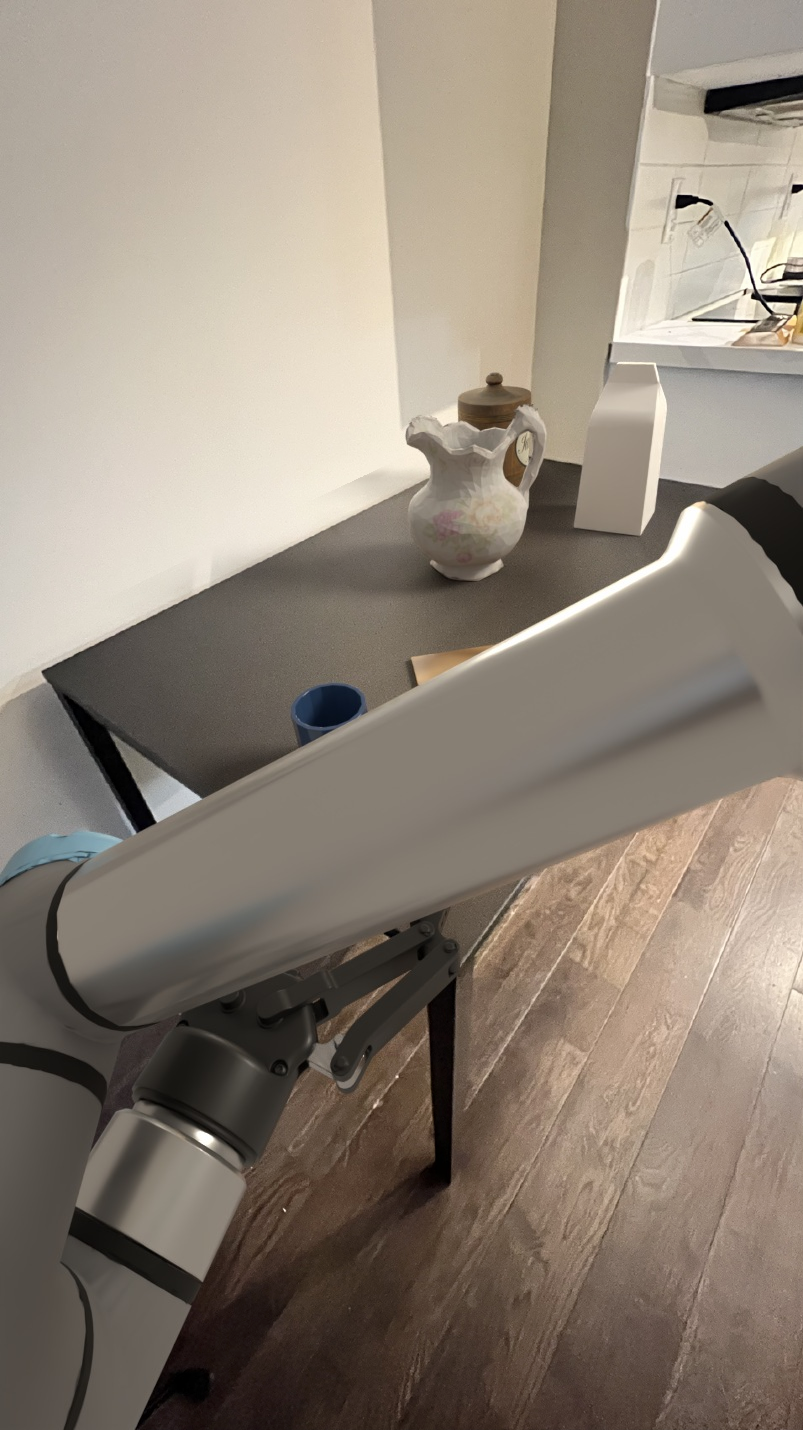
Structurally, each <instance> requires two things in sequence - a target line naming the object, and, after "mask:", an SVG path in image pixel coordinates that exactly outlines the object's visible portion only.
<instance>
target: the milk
mask: <svg viewBox="0 0 803 1430" xmlns="http://www.w3.org/2000/svg"><path fill="white" fill-rule="evenodd" d="M667 413H668V404H667V398H666V396H665V393H664V390H663V386H662V383H661V382H660V375H659V371H658V368H657V363H656V362H650V361H648V362H645V361H643V362H640V361H639V362H637V361H618V362H616V364H615V365H614V367H613V369H612V371H611V373H610V375H609V377H608V378H607V382H606V383H605V385H604V387H603V389H602V391H601V393H600V395H599V397H598V399H597V402H596V404H595V406H594V408H593V410H592V412H591V415H590V417H589V421H588V425H587V432H586V438H585V445H584V453H583V459H582V465H581V473H580V480H579V485H578V486H579V487H578V493H577V501H576V507H575V508H576V509H575V514H574V521H573V528H574V529H580V530H581V529H583V530H590V531H597V532H606V533H614V534H622V535H630V536H636V537H637V536H638V537H641V536H642V534H643V533H644V530H645V529H646V527H647V525H648V524H649V522H650V520H651V518H652V517H653V515H654V513H655V512H656V504H657V495H658V487H659V478H660V471H661V470H660V469H661V461H662V454H663V445H664V438H665V437H664V436H665V429H666V423H667V421H666V420H667Z"/></svg>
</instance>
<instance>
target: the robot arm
mask: <svg viewBox="0 0 803 1430" xmlns="http://www.w3.org/2000/svg"><path fill="white" fill-rule="evenodd" d="M496 644H497V645H495V644H494V645H495V646H493V647H491V648H489V649H487V650H485V651H483V652H481V653H480V654H478V655H476V656H474V657H472V658H470V659H468V660H466V661H464V662H462V663H460V664H459V665H457V666H455V667H453V668H451V669H449V670H447V671H445V672H443V673H441V674H440V675H438V676H436V677H434V678H432V679H430V680H428V681H426V682H424V683H422V684H421V685H419V686H418V685H417V686H414V687H413V688H410V689H409V690H407V691H405V692H403V693H402V694H400V695H398V696H395V697H394V698H392V699H390V700H388V701H386V702H384V703H382V704H381V705H379V706H376V707H375V708H372V709H371V710H369V711H368V712H367V713H365V714H363V715H362V716H360V717H358V718H356V719H354V720H352V721H350V722H348V723H346V724H344V725H342V726H341V727H339V728H337V729H335V730H333V731H331V732H329V733H327V734H325V735H323V736H322V737H320V738H318V739H316V740H314V741H312V742H310V743H308V744H306V745H304V746H302V747H301V748H299V747H298V748H297V749H295V750H293V751H291V752H288V753H287V754H285V755H283V756H282V757H280V758H278V759H276V760H273V761H272V762H270V763H268V764H266V765H265V766H262V767H260V768H259V769H256V770H255V771H253V772H251V773H249V774H247V775H246V776H243V777H242V778H240V779H237V780H236V781H234V782H232V783H230V784H228V785H225V786H224V787H223V788H221V789H219V790H217V791H215V792H213V793H211V794H209V795H207V796H206V797H203V798H201V799H200V800H198V801H196V802H193V803H192V804H190V805H188V806H187V807H184V808H183V809H181V810H179V811H177V812H175V813H173V814H171V815H169V816H167V817H166V818H163V819H162V820H160V821H158V822H156V823H154V824H151V825H150V826H148V827H146V828H145V829H142V830H140V831H139V832H136V833H135V834H133V835H131V836H129V837H127V838H125V839H122V838H120V837H117V836H113V835H111V834H107V833H103V832H96V831H92V830H91V831H90V830H75V831H73V832H72V833H70V834H69V835H61V834H58V833H54V832H52V833H49V834H45V835H42V836H39V837H37V838H34V839H32V840H30V841H29V842H27V843H25V844H24V845H23V846H21V847H20V848H19V849H18V850H17V851H15V852H14V854H13V855H12V856H11V857H10V858H9V860H8V861H7V863H6V864H5V866H4V868H3V869H2V870H1V872H0V1430H136V1428H137V1426H138V1423H139V1421H140V1419H141V1417H142V1415H143V1412H144V1410H145V1408H146V1407H147V1404H148V1401H149V1400H150V1397H151V1395H152V1393H153V1391H154V1388H155V1386H156V1384H157V1382H158V1380H159V1378H160V1376H161V1374H162V1372H163V1369H164V1367H165V1365H166V1362H167V1361H168V1358H169V1356H170V1354H171V1352H172V1350H173V1347H174V1344H175V1343H176V1341H177V1338H178V1336H179V1334H180V1332H181V1330H182V1328H183V1326H184V1323H185V1321H186V1319H187V1317H188V1315H189V1313H190V1310H191V1308H192V1303H193V1302H194V1301H195V1299H196V1297H197V1295H198V1293H199V1291H200V1289H201V1287H202V1284H201V1283H204V1280H205V1278H206V1276H207V1274H208V1271H209V1269H210V1267H211V1265H212V1263H213V1262H214V1259H215V1257H216V1255H217V1253H218V1250H219V1248H220V1246H221V1245H222V1242H223V1240H224V1237H225V1235H226V1233H227V1231H228V1228H229V1227H230V1224H231V1223H232V1220H233V1218H234V1216H235V1214H236V1211H237V1210H238V1207H239V1205H240V1204H241V1201H242V1199H243V1197H244V1194H245V1192H246V1190H247V1188H248V1186H247V1182H246V1181H247V1180H246V1177H245V1176H244V1175H243V1174H242V1170H243V1169H244V1168H252V1167H253V1166H254V1165H255V1164H257V1163H259V1162H261V1160H262V1157H263V1156H264V1153H265V1151H266V1149H267V1146H268V1144H269V1143H270V1140H271V1138H272V1136H273V1134H274V1131H275V1130H276V1127H277V1125H278V1123H279V1121H280V1119H281V1116H282V1115H283V1112H284V1110H285V1108H286V1107H287V1104H288V1101H289V1100H290V1097H291V1095H292V1092H293V1090H294V1087H295V1085H296V1083H297V1081H298V1080H299V1078H300V1077H301V1076H302V1075H303V1074H304V1073H305V1072H306V1071H308V1069H310V1068H312V1069H313V1070H315V1071H316V1072H318V1073H320V1074H321V1075H324V1076H325V1077H328V1078H329V1079H331V1080H332V1081H334V1082H335V1084H336V1087H337V1089H338V1091H339V1092H340V1093H341V1094H344V1095H351V1094H352V1093H353V1092H355V1091H356V1090H357V1088H358V1086H359V1085H360V1083H361V1080H362V1079H363V1077H364V1075H365V1073H366V1071H367V1069H368V1067H369V1065H370V1063H371V1062H372V1059H373V1058H374V1057H375V1056H376V1055H377V1054H379V1052H380V1051H381V1050H382V1049H383V1048H384V1047H385V1046H387V1044H388V1043H389V1042H391V1040H392V1039H393V1038H395V1037H396V1036H397V1035H398V1034H399V1033H400V1032H401V1031H402V1030H403V1029H404V1028H405V1027H406V1026H407V1025H408V1024H409V1023H410V1022H411V1021H412V1020H413V1019H414V1018H415V1017H416V1016H417V1015H418V1014H420V1012H422V1010H424V1008H425V1007H426V1006H428V1004H430V1003H431V1002H432V1001H433V1000H434V999H435V998H436V997H437V996H438V995H439V994H440V993H441V992H442V991H443V990H444V989H445V988H446V987H447V986H448V985H449V984H450V983H452V982H453V981H454V980H455V978H456V977H458V975H459V974H460V972H461V948H460V944H459V942H458V941H457V940H455V939H454V938H447V937H446V936H444V935H443V934H442V932H443V930H444V927H445V924H446V922H447V919H448V917H449V914H450V912H451V911H450V910H451V908H452V907H453V906H456V905H458V904H460V903H463V902H465V901H467V900H471V899H473V898H476V897H478V896H481V895H483V894H485V893H489V892H491V891H493V890H496V889H499V888H501V887H504V886H506V885H509V884H511V883H513V882H516V881H519V880H521V879H523V878H526V877H529V876H531V875H533V874H537V873H539V872H541V871H544V870H546V869H549V868H551V867H552V868H553V867H554V866H556V865H559V864H562V863H564V862H567V861H569V860H571V859H574V858H577V857H579V856H582V855H584V854H587V853H589V852H592V851H594V850H597V849H600V848H602V847H604V846H607V845H610V844H612V843H615V842H617V841H619V840H622V839H625V838H627V837H631V836H632V835H635V834H638V833H640V832H642V831H645V830H648V829H650V828H653V827H655V826H658V825H660V824H663V823H665V822H667V821H670V820H673V819H675V818H678V817H680V816H683V815H685V814H688V813H690V812H693V811H696V810H698V809H701V808H703V807H706V806H708V805H711V804H713V803H716V802H718V801H721V800H724V799H726V798H728V797H732V796H733V795H736V794H739V793H742V792H744V791H746V790H748V789H752V788H753V787H756V786H759V785H762V784H764V783H766V782H769V781H771V780H775V779H776V778H783V779H792V780H795V781H798V782H802V783H803V445H802V446H800V447H797V448H796V449H794V450H792V451H791V452H789V453H786V454H784V455H783V456H781V457H779V458H777V459H775V460H773V461H771V462H769V463H768V464H766V465H764V466H761V467H760V468H757V469H756V470H754V471H752V472H750V473H748V474H746V475H744V476H743V477H741V478H739V479H737V480H735V481H734V482H731V483H730V484H727V485H725V486H724V487H722V488H720V489H718V490H716V491H715V492H713V493H711V494H710V495H707V496H706V497H703V498H702V499H699V500H698V501H696V502H694V503H693V504H691V505H689V506H687V507H686V508H684V509H683V510H682V511H681V512H680V514H679V517H678V519H677V521H676V524H675V526H674V529H673V531H672V533H671V536H670V539H669V541H668V544H667V547H666V549H665V551H664V552H663V553H662V555H661V556H660V558H659V559H656V560H654V561H653V562H651V563H649V564H647V565H645V566H643V567H642V568H641V567H640V568H639V569H638V570H635V571H634V572H632V573H630V574H628V575H626V576H624V577H622V578H620V579H619V580H617V581H615V582H613V583H611V584H609V585H607V586H606V587H605V586H604V588H603V587H602V589H599V590H597V591H596V592H594V593H592V594H590V595H588V596H586V597H584V598H582V599H580V600H579V601H577V602H574V603H573V604H571V605H569V606H566V608H563V609H562V610H560V611H558V612H556V613H554V614H552V615H550V616H548V617H546V618H545V619H542V620H540V621H539V622H537V623H535V624H533V625H531V626H529V627H527V628H525V629H523V630H521V631H519V632H517V633H515V634H514V635H512V636H509V637H508V638H506V639H504V640H502V641H501V642H498V643H496ZM408 924H409V927H408V928H407V929H405V930H403V931H401V932H399V933H397V934H396V935H393V936H392V937H390V938H388V939H386V940H384V941H382V942H381V943H379V944H376V945H375V946H373V947H371V948H369V949H367V950H365V951H364V952H362V953H360V954H358V955H356V956H355V957H353V958H351V959H349V960H347V961H345V962H343V963H341V964H339V965H338V966H336V967H334V968H332V969H330V970H325V969H321V970H318V971H317V972H315V973H313V974H311V975H309V976H308V977H305V978H304V977H303V976H302V975H301V972H300V970H298V969H296V968H298V967H301V966H303V965H306V964H308V963H311V962H314V961H317V960H318V959H321V958H324V957H326V956H329V955H332V954H334V953H336V952H338V951H341V950H344V949H347V948H349V947H352V946H354V945H357V944H360V943H362V942H364V941H367V940H370V939H372V938H374V937H377V936H379V935H381V934H385V933H387V932H390V931H392V930H394V929H397V928H399V927H402V926H405V925H408ZM404 974H405V975H404ZM401 976H403V977H401ZM399 977H401V978H400V979H399V980H398V981H397V982H396V983H395V984H394V985H392V987H391V988H389V990H387V991H386V992H385V993H384V994H383V995H382V996H381V997H380V998H379V999H378V1000H376V1001H375V1002H374V1003H373V1004H372V1005H371V1006H370V1007H369V1008H368V1009H366V1010H365V1011H364V1012H363V1013H362V1014H361V1015H360V1016H358V1018H357V1019H356V1020H355V1021H354V1022H353V1023H352V1025H351V1026H350V1027H349V1029H348V1030H347V1031H346V1033H336V1034H335V1035H334V1036H333V1037H332V1038H331V1039H330V1040H329V1041H327V1042H325V1043H320V1041H319V1034H318V1028H319V1027H320V1026H322V1025H323V1024H325V1023H327V1022H329V1021H331V1020H333V1019H334V1018H336V1017H338V1016H339V1015H340V1014H341V1013H342V1011H343V1009H344V1008H346V1007H347V1006H350V1005H351V1004H353V1003H354V1002H356V1001H358V1000H360V999H362V998H363V997H365V996H367V995H369V994H370V993H372V992H374V991H376V990H378V989H380V988H381V987H383V986H385V985H387V984H389V983H390V982H392V981H394V980H396V979H397V978H399ZM177 1015H179V1019H178V1021H177V1023H176V1025H175V1026H174V1027H173V1028H172V1029H170V1030H169V1031H168V1032H166V1034H165V1035H164V1037H163V1038H162V1040H161V1042H160V1043H159V1045H158V1046H157V1048H156V1050H155V1051H154V1052H153V1054H152V1055H151V1057H150V1059H149V1060H148V1062H147V1063H146V1065H145V1066H144V1068H143V1069H142V1071H141V1073H140V1074H139V1076H138V1078H136V1081H135V1082H134V1084H133V1086H132V1087H131V1091H132V1094H131V1099H132V1101H133V1103H134V1105H133V1107H132V1108H122V1109H120V1110H117V1111H116V1110H115V1112H114V1114H113V1115H112V1117H111V1119H110V1120H109V1121H108V1123H107V1125H106V1127H105V1128H104V1130H103V1131H102V1132H101V1134H100V1136H99V1138H98V1139H97V1141H96V1142H95V1144H94V1145H93V1143H94V1139H95V1135H96V1132H97V1128H98V1126H99V1125H98V1124H99V1121H100V1118H101V1115H102V1112H103V1109H104V1105H105V1103H106V1099H107V1095H108V1090H109V1086H110V1082H111V1079H112V1077H113V1072H114V1069H115V1067H116V1066H115V1065H116V1062H117V1058H118V1055H119V1051H120V1047H121V1045H122V1041H123V1040H124V1038H125V1037H127V1036H129V1035H132V1034H134V1033H137V1032H139V1031H141V1030H143V1029H146V1028H149V1027H151V1026H154V1025H155V1026H156V1025H157V1024H159V1023H161V1022H162V1021H165V1020H167V1019H170V1018H172V1017H174V1016H177ZM196 1280H197V1281H196ZM200 1282H201V1283H200Z"/></svg>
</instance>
